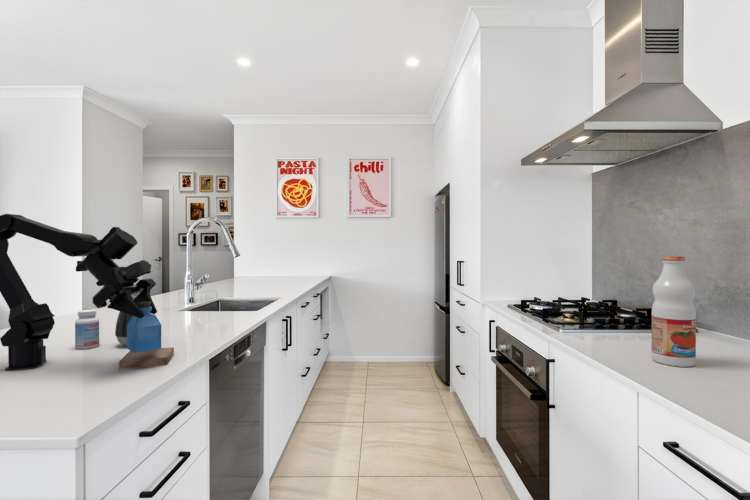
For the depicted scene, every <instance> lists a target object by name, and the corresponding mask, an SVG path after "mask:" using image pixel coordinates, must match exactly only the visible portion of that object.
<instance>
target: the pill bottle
mask: <svg viewBox="0 0 750 500" xmlns="http://www.w3.org/2000/svg"><path fill="white" fill-rule="evenodd" d="M77 316H78V318H77V319H76V320H75V323H74V348H75V349H77V350H87V349H88V350H89V349H94V348H98V347H99V346H100V319H99V318H98V317H97V310H96V309H85V310H84V309H83V310H78V312H77Z"/></svg>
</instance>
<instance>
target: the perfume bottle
mask: <svg viewBox="0 0 750 500" xmlns="http://www.w3.org/2000/svg"><path fill="white" fill-rule="evenodd" d="M137 304H138V307H139V308H140V310H141V311H142V312H143V314H144V317H143V318H138V317H135V316H132V318H131V319H130V321H129V322H128V324H127V346H126V349H127V350H129V351H132V352H134V353H137V352H143V351H149V350H155V349H161V348H162V323H161V322H160V320H159V319H158V317H157V315H156V314H152V313H151V310H152V306H150V305H151V302H149V301H146V302H137Z"/></svg>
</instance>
